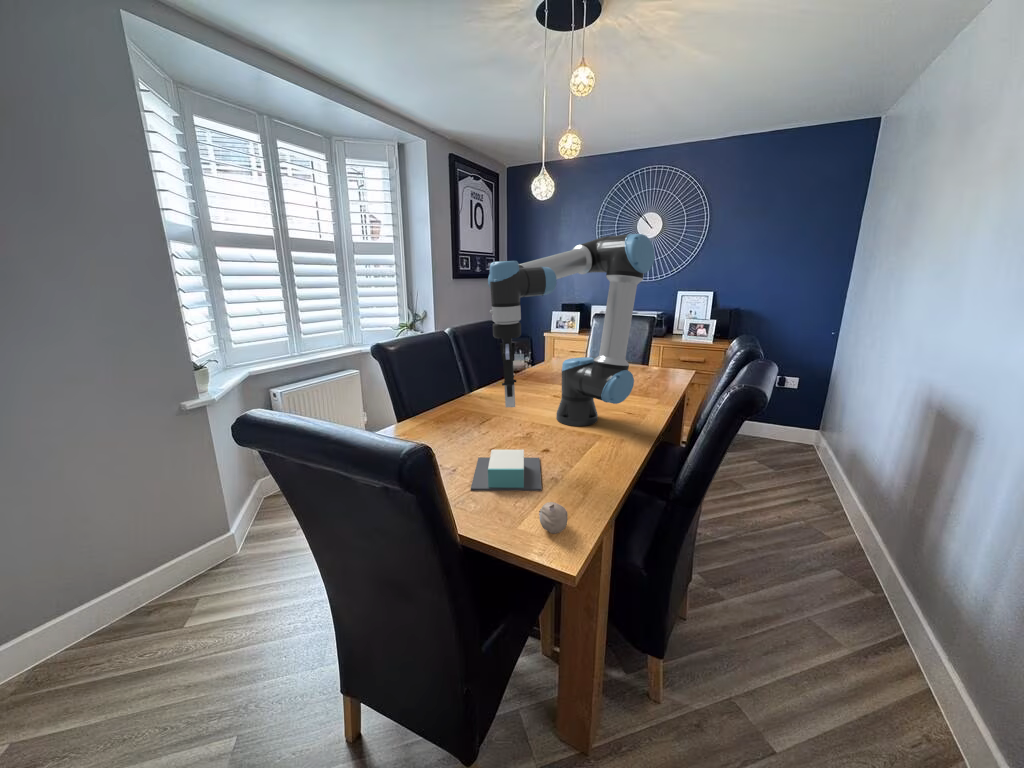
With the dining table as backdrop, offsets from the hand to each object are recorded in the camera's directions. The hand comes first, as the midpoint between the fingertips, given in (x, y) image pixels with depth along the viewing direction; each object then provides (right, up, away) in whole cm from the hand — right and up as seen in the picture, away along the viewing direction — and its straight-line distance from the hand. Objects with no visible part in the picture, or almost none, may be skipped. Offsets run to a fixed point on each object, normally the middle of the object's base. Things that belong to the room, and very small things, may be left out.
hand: (510, 406), depth 116 cm
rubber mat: (-1, -18, -2) cm, 19 cm away
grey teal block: (-1, -14, 0) cm, 15 cm away
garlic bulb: (+9, -25, -27) cm, 38 cm away
